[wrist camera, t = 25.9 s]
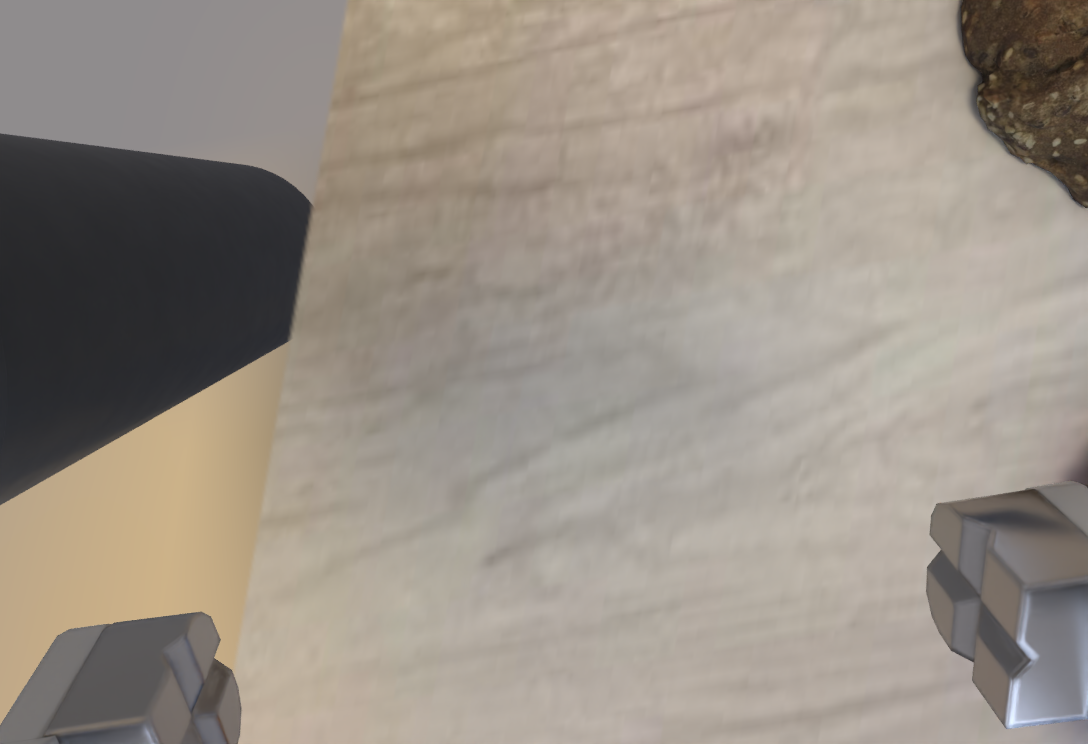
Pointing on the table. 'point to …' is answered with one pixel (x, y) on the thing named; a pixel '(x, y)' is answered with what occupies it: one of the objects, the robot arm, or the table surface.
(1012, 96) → the bread roll
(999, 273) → the table surface
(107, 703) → the robot arm
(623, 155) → the table surface
